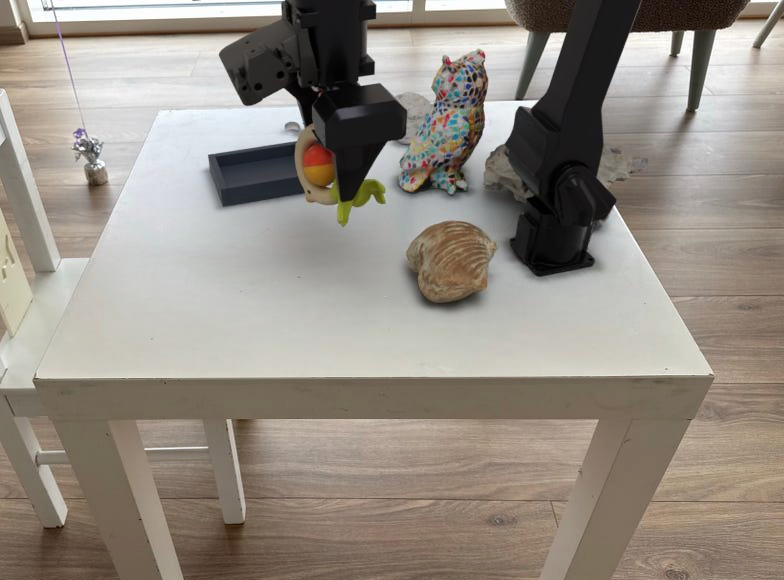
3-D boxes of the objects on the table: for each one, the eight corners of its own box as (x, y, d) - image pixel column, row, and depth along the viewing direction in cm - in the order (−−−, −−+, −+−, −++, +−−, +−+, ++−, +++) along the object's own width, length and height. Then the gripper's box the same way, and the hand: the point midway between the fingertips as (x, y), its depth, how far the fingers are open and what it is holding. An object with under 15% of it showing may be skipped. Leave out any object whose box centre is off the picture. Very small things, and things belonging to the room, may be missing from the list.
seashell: (475, 263, 77) (399, 263, 76) (489, 202, 72) (408, 201, 72) (499, 315, 69) (415, 316, 69) (515, 251, 65) (426, 250, 64)
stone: (414, 136, 92) (369, 92, 97) (407, 166, 96) (365, 122, 101) (475, 115, 95) (430, 73, 100) (466, 144, 99) (423, 103, 104)
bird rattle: (291, 236, 67) (361, 233, 60) (248, 115, 63) (319, 97, 56) (337, 209, 71) (408, 203, 64) (299, 93, 66) (371, 73, 60)
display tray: (299, 157, 94) (298, 140, 93) (318, 190, 88) (317, 173, 86) (210, 171, 92) (207, 154, 91) (222, 206, 86) (220, 189, 84)
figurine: (415, 157, 93) (423, 33, 83) (485, 169, 90) (502, 43, 80) (390, 188, 87) (396, 60, 77) (464, 203, 84) (480, 71, 74)
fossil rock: (463, 171, 87) (514, 247, 77) (478, 126, 83) (533, 199, 73) (612, 174, 92) (678, 246, 82) (632, 132, 88) (704, 201, 78)
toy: (343, 132, 98) (344, 123, 99) (284, 125, 98) (286, 117, 100) (342, 140, 99) (344, 132, 100) (283, 133, 99) (286, 125, 101)
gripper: (200, -35, 60) (222, 146, 70) (249, 40, 46) (267, 250, 56) (332, -50, 61) (334, 128, 72) (416, 18, 48) (403, 225, 58)
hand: (331, 177), depth 65 cm, fingers closed on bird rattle, 8 cm apart
